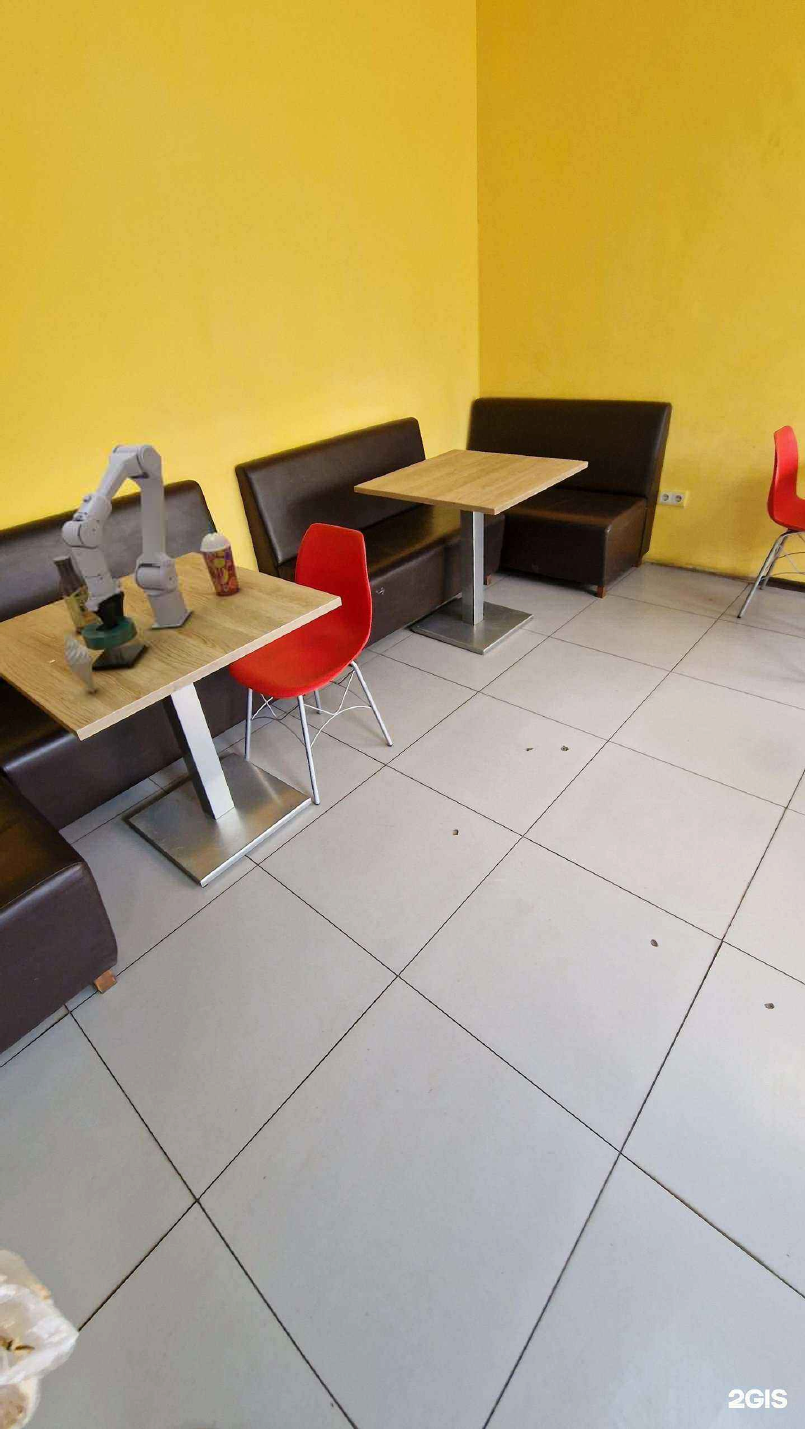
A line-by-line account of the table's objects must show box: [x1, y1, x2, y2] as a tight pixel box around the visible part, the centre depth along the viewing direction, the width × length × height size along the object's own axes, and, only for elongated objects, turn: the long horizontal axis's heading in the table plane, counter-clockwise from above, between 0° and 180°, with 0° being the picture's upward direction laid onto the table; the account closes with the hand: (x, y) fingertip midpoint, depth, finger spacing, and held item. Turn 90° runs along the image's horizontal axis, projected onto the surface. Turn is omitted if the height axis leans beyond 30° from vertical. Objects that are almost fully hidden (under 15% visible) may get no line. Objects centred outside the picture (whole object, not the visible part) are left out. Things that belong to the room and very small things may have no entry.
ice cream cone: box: [63, 631, 95, 693], centre depth 137 cm, size 5×5×15 cm
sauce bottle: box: [52, 554, 100, 633], centre depth 166 cm, size 6×6×20 cm
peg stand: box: [91, 643, 148, 672], centre depth 152 cm, size 10×10×6 cm
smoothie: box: [200, 522, 239, 596], centre depth 178 cm, size 8×8×20 cm
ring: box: [80, 615, 138, 651], centre depth 150 cm, size 12×12×3 cm
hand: (116, 626), depth 153 cm, fingers closed on ring, 3 cm apart
